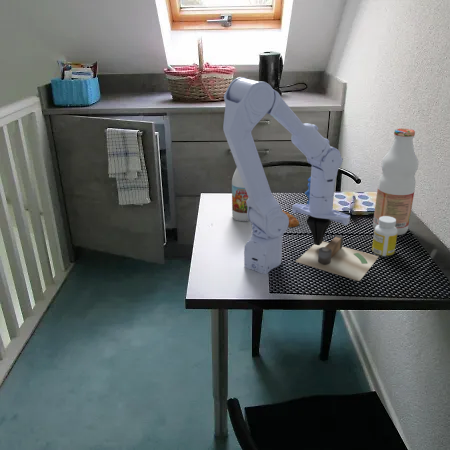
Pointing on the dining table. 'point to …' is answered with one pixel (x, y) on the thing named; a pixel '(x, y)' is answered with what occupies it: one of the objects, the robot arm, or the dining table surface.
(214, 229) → the dining table surface
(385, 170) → the fruit juice
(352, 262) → the dial board
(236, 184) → the milk bottle
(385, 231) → the supplement bottle
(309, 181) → the grapes
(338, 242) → the pointer lever
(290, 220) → the pastry
